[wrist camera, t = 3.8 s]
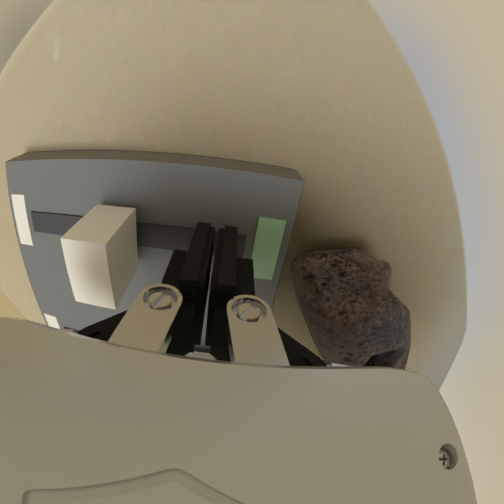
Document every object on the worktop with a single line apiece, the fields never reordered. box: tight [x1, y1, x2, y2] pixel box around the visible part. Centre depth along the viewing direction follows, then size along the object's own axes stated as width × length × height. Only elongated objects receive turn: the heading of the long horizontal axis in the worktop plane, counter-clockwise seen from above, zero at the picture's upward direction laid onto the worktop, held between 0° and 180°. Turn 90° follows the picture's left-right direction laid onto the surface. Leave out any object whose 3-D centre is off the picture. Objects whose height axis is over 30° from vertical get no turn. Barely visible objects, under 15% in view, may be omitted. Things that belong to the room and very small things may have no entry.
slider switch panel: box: [6, 150, 304, 356], centre depth 15 cm, size 16×16×2 cm
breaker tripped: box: [60, 205, 139, 310], centre depth 10 cm, size 2×3×3 cm, turn 171°
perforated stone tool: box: [291, 246, 411, 370], centre depth 15 cm, size 15×5×7 cm, turn 24°
